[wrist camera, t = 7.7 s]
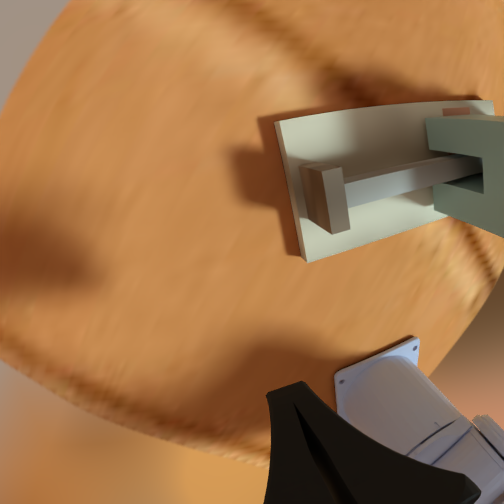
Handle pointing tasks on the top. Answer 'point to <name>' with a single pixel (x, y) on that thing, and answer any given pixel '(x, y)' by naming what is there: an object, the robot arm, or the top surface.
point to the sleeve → (478, 185)
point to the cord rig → (367, 172)
